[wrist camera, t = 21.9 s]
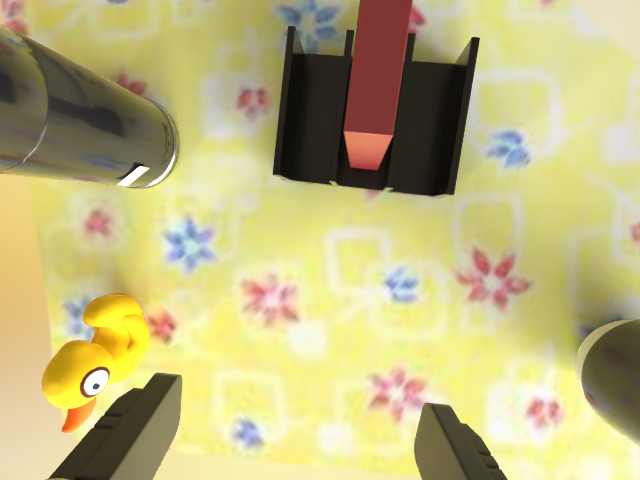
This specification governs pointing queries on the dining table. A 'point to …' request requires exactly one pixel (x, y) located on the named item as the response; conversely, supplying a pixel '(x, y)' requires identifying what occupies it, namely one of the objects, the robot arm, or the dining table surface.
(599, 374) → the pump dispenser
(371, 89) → the book
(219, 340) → the dining table surface
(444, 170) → the book rack
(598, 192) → the dining table surface
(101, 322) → the duckling
